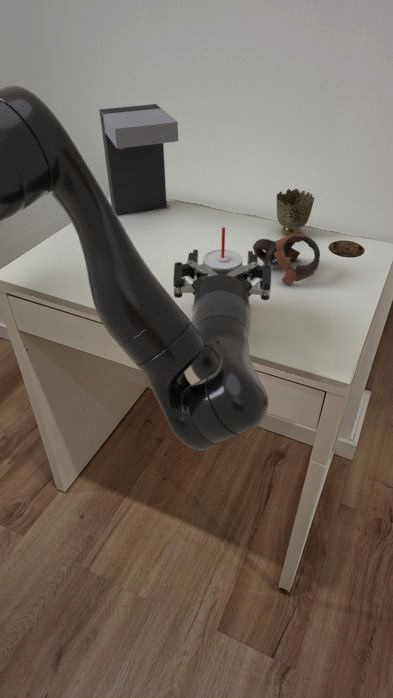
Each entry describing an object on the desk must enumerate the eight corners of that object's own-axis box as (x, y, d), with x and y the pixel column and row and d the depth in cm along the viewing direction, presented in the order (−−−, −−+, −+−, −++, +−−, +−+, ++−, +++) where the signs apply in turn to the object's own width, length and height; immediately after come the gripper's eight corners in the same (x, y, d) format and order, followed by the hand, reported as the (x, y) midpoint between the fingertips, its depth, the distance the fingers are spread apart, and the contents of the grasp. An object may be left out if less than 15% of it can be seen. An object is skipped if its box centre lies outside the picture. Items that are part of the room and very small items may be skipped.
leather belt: (310, 260, 92) (328, 236, 85) (303, 302, 89) (320, 281, 81) (251, 242, 92) (263, 216, 84) (241, 283, 88) (253, 260, 81)
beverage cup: (206, 294, 82) (207, 217, 73) (242, 298, 81) (247, 220, 72) (199, 315, 78) (198, 235, 69) (236, 319, 76) (241, 239, 68)
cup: (287, 244, 97) (291, 206, 91) (265, 230, 101) (269, 193, 96) (316, 235, 99) (322, 198, 94) (294, 222, 104) (298, 186, 99)
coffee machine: (181, 226, 103) (177, 121, 90) (126, 235, 100) (114, 128, 87) (161, 200, 114) (156, 103, 100) (111, 208, 111) (99, 109, 97)
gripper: (278, 293, 60) (270, 234, 73) (165, 290, 61) (176, 232, 73) (272, 340, 65) (266, 277, 78) (168, 336, 66) (178, 275, 78)
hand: (222, 255), depth 75 cm, fingers open, 8 cm apart
